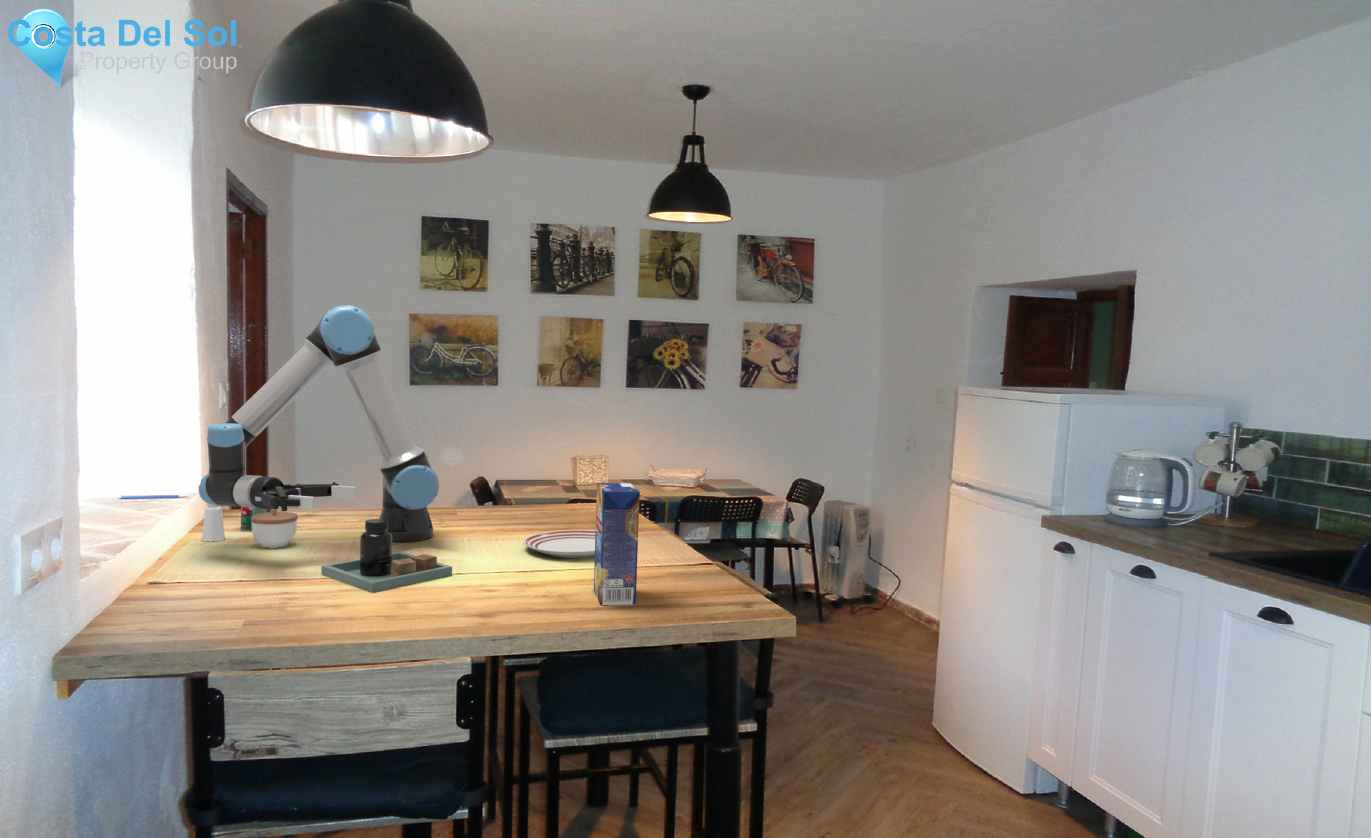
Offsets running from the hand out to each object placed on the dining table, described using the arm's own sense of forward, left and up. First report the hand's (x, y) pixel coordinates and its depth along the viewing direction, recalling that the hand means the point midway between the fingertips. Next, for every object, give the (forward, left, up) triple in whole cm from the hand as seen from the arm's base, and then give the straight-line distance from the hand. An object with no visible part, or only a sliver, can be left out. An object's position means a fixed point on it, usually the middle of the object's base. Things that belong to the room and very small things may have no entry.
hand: (335, 498), depth 194 cm
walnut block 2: (-11, +18, -16) cm, 27 cm away
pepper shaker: (+5, -50, -17) cm, 54 cm away
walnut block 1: (-6, +18, -16) cm, 25 cm away
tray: (-5, +13, -17) cm, 22 cm away
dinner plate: (-56, +21, -18) cm, 63 cm away
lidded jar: (-3, -34, -17) cm, 39 cm away
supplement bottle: (-4, +9, -16) cm, 20 cm away
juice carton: (-31, +58, -17) cm, 68 cm away
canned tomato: (-9, -56, -17) cm, 60 cm away
